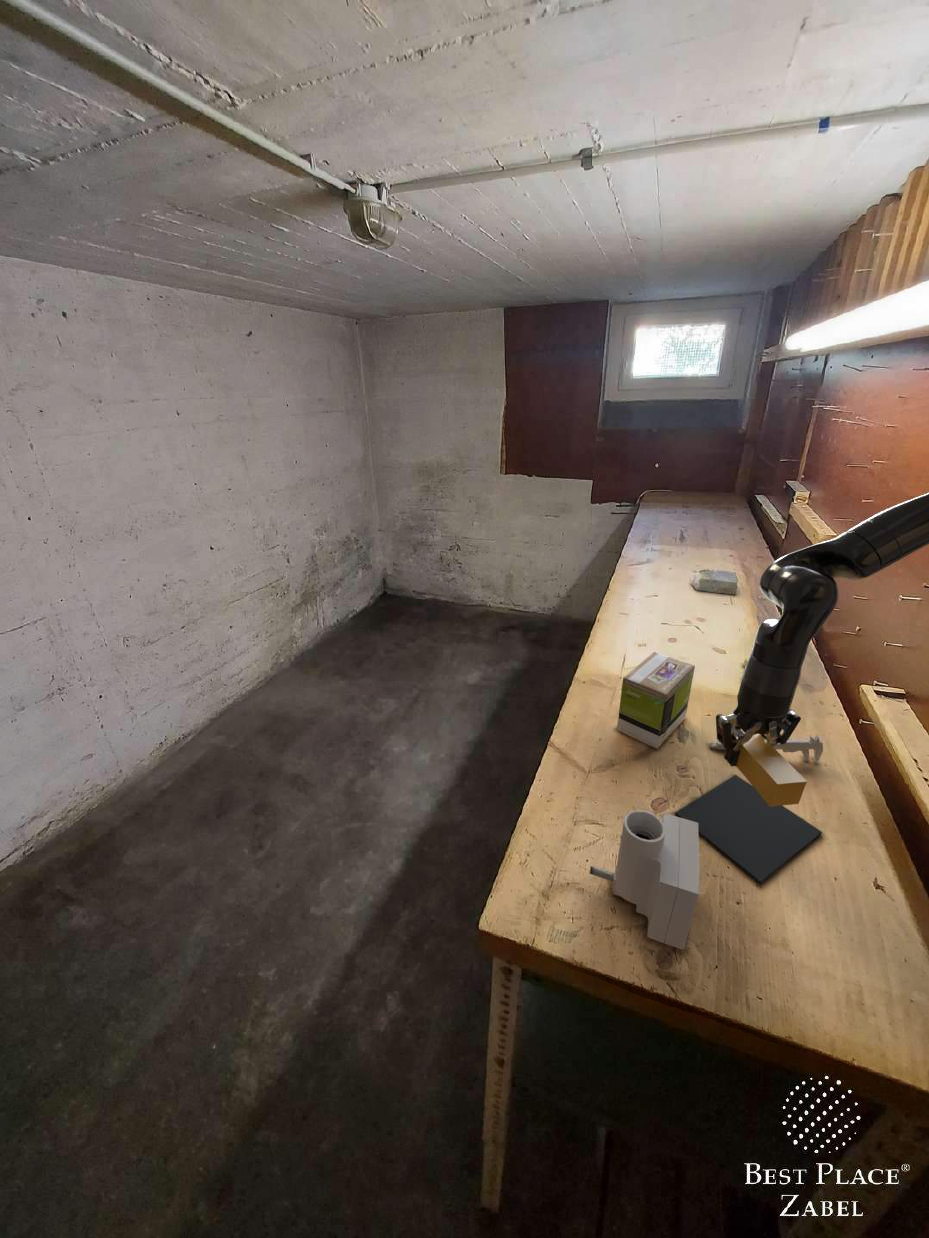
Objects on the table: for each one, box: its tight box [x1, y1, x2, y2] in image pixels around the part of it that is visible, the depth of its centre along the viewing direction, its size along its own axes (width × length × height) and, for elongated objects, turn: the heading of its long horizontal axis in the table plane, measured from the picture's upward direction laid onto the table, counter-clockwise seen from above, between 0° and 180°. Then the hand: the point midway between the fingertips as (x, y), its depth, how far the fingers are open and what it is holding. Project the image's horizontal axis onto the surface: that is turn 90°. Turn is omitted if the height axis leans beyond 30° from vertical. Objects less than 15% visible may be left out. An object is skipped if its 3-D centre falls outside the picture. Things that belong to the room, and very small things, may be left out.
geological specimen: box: [691, 568, 739, 596], centre depth 181 cm, size 11×6×15 cm
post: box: [735, 734, 808, 807], centre depth 81 cm, size 5×5×12 cm
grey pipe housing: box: [589, 809, 701, 951], centre depth 72 cm, size 12×14×15 cm
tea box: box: [616, 651, 696, 749], centre depth 108 cm, size 15×10×15 cm, turn 135°
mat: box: [674, 774, 823, 885], centre depth 86 cm, size 18×16×1 cm
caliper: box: [709, 734, 824, 762], centre depth 101 cm, size 20×1×6 cm, turn 76°
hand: (744, 761), depth 86 cm, fingers closed on post, 4 cm apart
